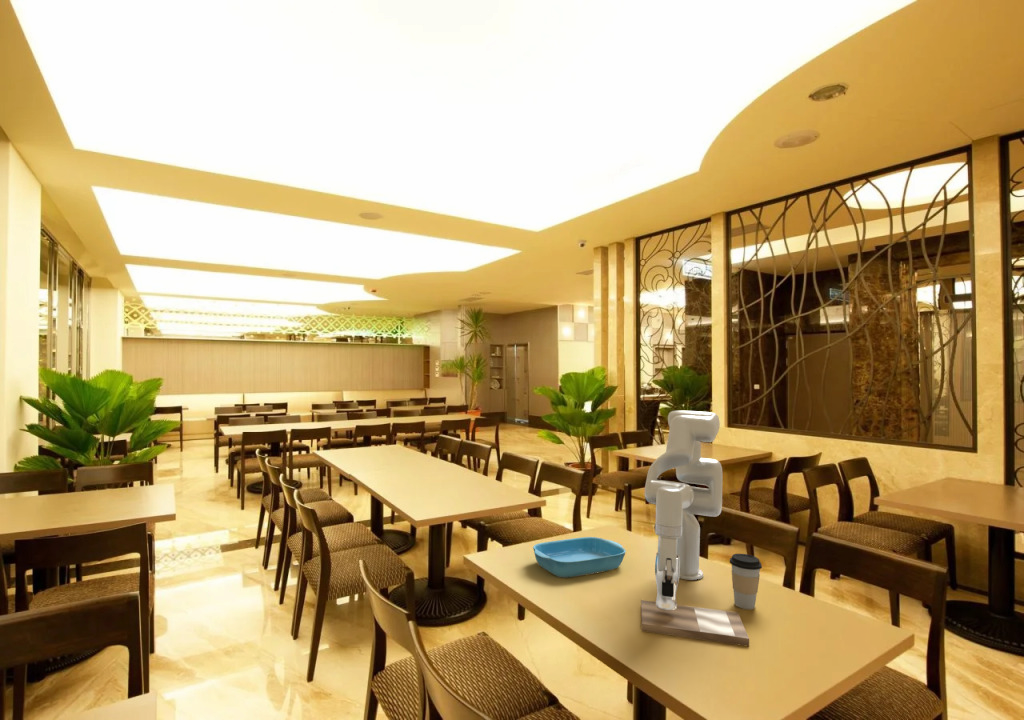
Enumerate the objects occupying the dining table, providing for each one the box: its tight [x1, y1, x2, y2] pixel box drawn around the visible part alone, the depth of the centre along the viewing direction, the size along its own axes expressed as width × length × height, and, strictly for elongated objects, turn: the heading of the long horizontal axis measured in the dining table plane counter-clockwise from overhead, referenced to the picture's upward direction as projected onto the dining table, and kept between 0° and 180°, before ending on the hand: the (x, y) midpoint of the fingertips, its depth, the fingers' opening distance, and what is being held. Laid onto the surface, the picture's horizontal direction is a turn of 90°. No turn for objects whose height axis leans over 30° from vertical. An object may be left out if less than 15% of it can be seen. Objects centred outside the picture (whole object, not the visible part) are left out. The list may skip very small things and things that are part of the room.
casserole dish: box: [532, 536, 627, 578], centre depth 196 cm, size 37×22×7 cm, turn 119°
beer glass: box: [654, 551, 680, 611], centre depth 154 cm, size 7×7×15 cm
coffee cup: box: [729, 553, 763, 610], centre depth 167 cm, size 9×9×15 cm
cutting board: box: [640, 599, 750, 647], centre depth 152 cm, size 16×28×2 cm, turn 77°
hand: (666, 590), depth 154 cm, fingers closed on beer glass, 6 cm apart
